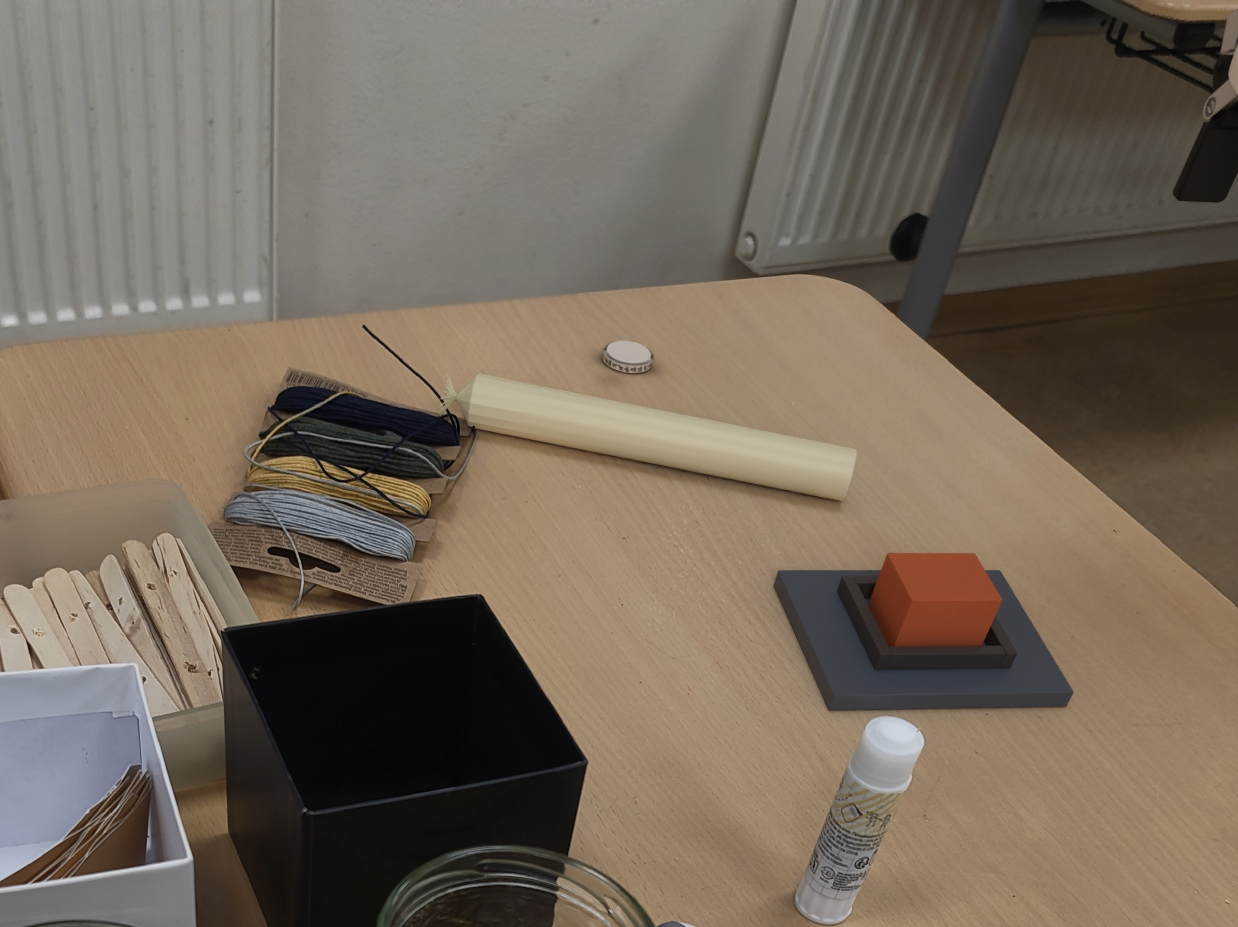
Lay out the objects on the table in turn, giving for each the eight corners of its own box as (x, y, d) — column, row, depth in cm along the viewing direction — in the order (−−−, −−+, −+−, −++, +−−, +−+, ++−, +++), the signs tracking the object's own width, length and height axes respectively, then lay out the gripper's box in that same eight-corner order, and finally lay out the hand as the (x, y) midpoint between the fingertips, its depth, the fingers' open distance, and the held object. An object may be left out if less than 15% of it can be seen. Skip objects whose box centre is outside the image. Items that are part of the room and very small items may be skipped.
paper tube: (444, 406, 108) (449, 357, 105) (842, 485, 106) (858, 438, 103) (434, 430, 105) (438, 381, 103) (840, 512, 104) (856, 464, 101)
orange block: (952, 605, 96) (975, 552, 93) (979, 653, 93) (1003, 600, 90) (867, 605, 95) (887, 552, 92) (891, 653, 92) (912, 600, 89)
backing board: (993, 584, 100) (1007, 554, 98) (1066, 707, 92) (1082, 676, 90) (773, 585, 97) (782, 554, 96) (828, 711, 90) (840, 679, 88)
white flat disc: (598, 366, 113) (599, 358, 113) (607, 343, 116) (608, 335, 115) (648, 377, 113) (649, 369, 113) (655, 353, 115) (657, 345, 115)
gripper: (1598, -74, 64) (1371, 314, 78) (1394, -184, 74) (1225, 175, 88) (1449, -86, 63) (1245, 310, 76) (1262, -196, 73) (1112, 170, 87)
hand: (1234, 238), depth 82 cm, fingers open, 9 cm apart
